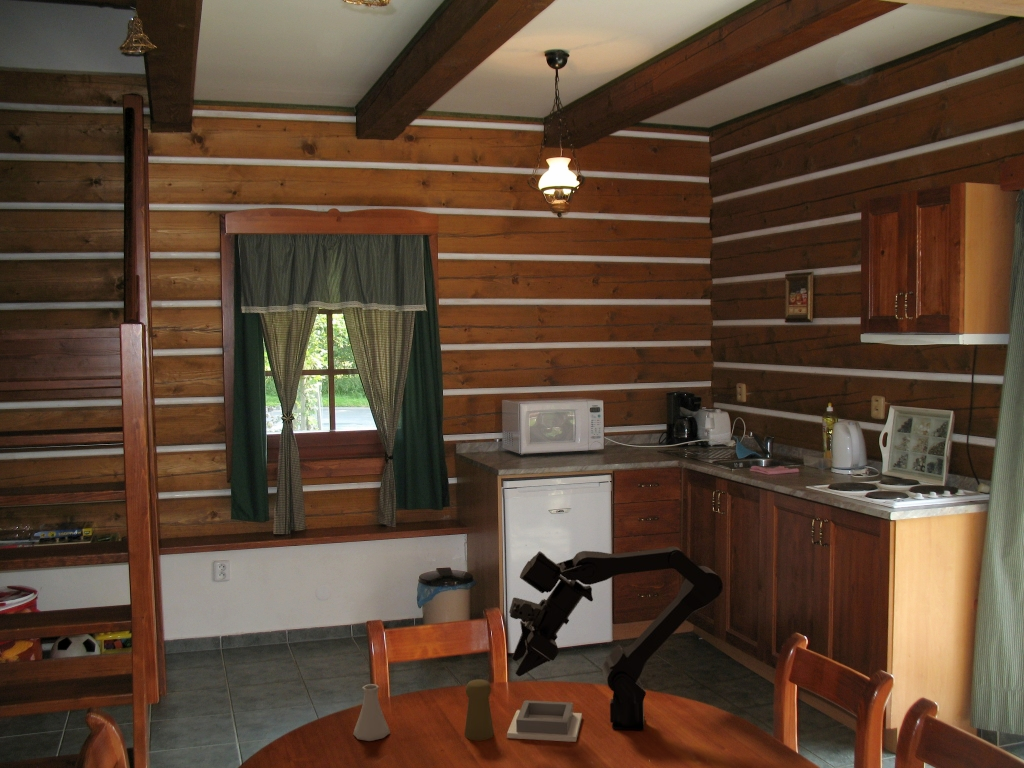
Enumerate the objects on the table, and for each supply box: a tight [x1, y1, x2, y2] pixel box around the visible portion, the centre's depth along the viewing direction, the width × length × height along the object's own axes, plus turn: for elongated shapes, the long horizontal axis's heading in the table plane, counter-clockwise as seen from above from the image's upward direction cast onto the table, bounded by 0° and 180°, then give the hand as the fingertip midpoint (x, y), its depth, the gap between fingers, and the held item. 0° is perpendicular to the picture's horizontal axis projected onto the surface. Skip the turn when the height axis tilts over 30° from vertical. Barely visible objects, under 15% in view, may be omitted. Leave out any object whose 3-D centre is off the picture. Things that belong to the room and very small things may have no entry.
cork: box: [464, 678, 495, 741], centre depth 189 cm, size 6×6×11 cm
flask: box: [352, 683, 391, 742], centre depth 190 cm, size 7×7×10 cm
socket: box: [506, 699, 583, 743], centre depth 192 cm, size 14×12×4 cm
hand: (515, 667), depth 191 cm, fingers open, 9 cm apart
